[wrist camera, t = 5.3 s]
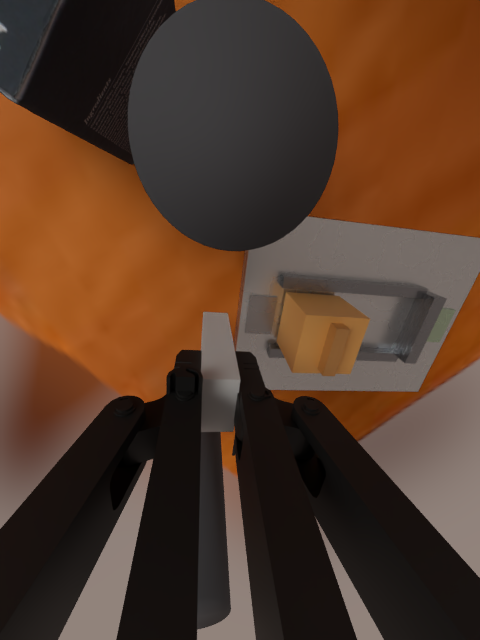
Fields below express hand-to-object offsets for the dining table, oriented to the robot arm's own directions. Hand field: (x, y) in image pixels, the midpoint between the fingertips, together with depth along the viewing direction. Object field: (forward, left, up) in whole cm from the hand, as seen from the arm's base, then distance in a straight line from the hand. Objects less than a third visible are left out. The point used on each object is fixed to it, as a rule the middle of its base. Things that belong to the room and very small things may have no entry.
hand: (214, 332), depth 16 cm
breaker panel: (+11, 0, -4) cm, 12 cm away
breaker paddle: (+7, 0, -2) cm, 7 cm away
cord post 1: (-1, -8, -4) cm, 9 cm away
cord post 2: (-1, +8, -4) cm, 9 cm away
